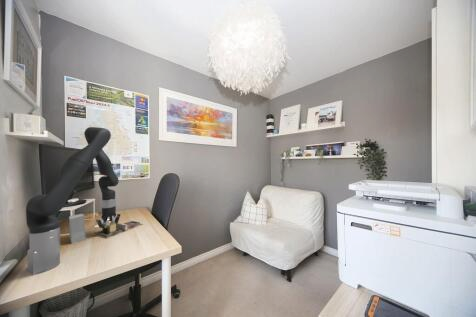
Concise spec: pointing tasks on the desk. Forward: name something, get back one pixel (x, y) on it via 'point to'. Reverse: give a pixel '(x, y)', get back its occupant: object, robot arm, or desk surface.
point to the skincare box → (77, 228)
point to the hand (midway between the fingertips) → (109, 231)
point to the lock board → (119, 229)
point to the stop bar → (110, 228)
